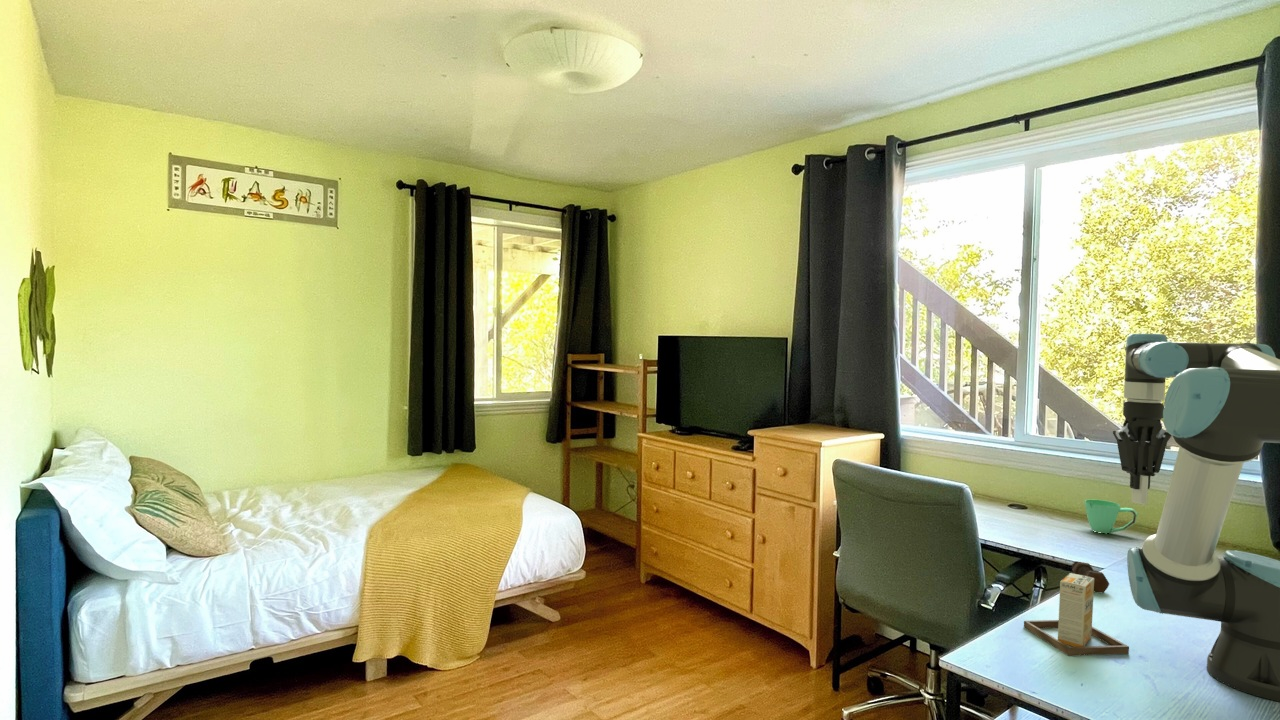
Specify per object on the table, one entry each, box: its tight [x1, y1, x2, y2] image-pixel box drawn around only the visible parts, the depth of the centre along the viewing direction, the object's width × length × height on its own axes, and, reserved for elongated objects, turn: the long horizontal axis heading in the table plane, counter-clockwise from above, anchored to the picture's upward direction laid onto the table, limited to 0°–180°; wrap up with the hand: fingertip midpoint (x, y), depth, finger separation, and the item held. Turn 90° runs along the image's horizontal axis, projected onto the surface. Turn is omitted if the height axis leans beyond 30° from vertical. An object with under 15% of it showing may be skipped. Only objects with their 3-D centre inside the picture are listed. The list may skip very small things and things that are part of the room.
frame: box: [1023, 619, 1130, 657], centre depth 141 cm, size 13×13×2 cm
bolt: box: [1071, 561, 1110, 593], centre depth 177 cm, size 6×5×15 cm
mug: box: [1084, 498, 1139, 534], centre depth 225 cm, size 15×10×10 cm
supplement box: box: [1057, 572, 1095, 647], centre depth 141 cm, size 8×5×13 cm, turn 135°
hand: (1139, 503), depth 154 cm, fingers closed
